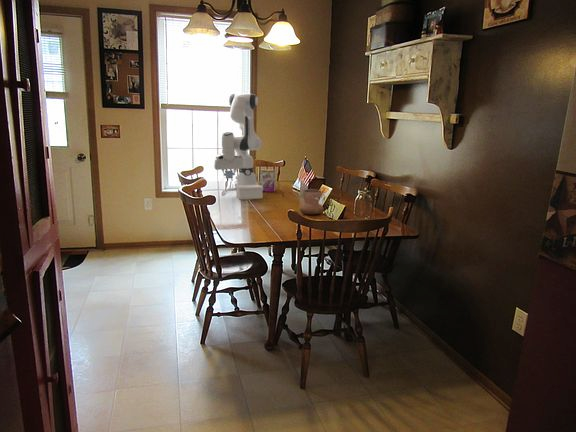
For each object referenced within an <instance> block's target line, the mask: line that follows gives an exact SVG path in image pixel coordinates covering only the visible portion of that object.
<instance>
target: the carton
mask: <svg viewBox="0 0 576 432" xmlns="http://www.w3.org/2000/svg"><path fill="white" fill-rule="evenodd" d="M235 187H236V186H235ZM236 198H237V199H238V200H239V201H245V200H246V201H248V200H263V190H254V191H239V189H238V188H237V187H236Z"/></svg>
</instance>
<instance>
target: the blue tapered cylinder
mask: <svg viewBox="0 0 576 432" xmlns="http://www.w3.org/2000/svg"><path fill="white" fill-rule="evenodd" d="M233 172H234V170H233V169H225V173H226V176H225V178H226V179H233V178H234V175H233Z"/></svg>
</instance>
